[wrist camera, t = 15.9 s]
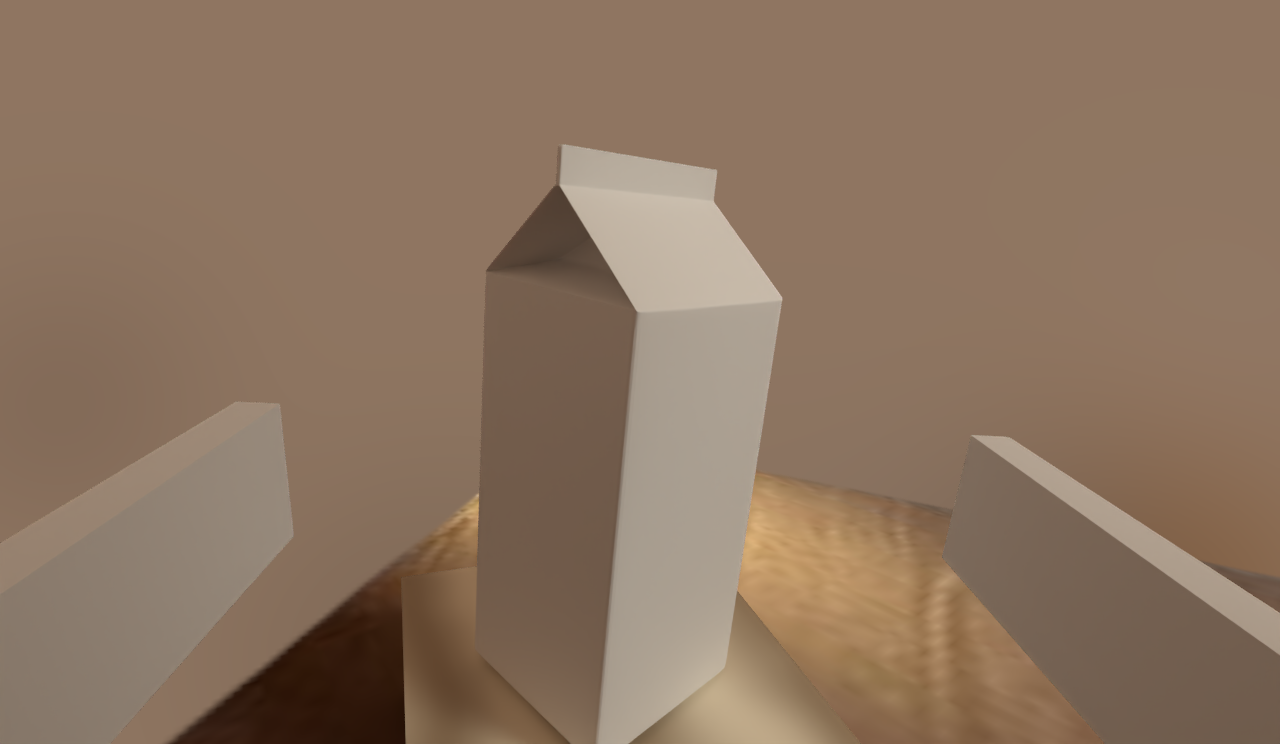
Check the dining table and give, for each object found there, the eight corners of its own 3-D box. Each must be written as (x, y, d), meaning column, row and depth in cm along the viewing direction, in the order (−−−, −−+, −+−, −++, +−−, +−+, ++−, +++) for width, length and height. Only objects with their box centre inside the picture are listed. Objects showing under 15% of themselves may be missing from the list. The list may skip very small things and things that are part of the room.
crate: (680, 639, 37) (691, 534, 35) (845, 911, 23) (879, 766, 21) (406, 697, 31) (401, 577, 29) (419, 1093, 18) (410, 921, 16)
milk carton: (726, 670, 25) (803, 174, 20) (594, 775, 20) (653, 146, 15) (605, 587, 30) (643, 166, 25) (472, 654, 25) (487, 142, 20)
